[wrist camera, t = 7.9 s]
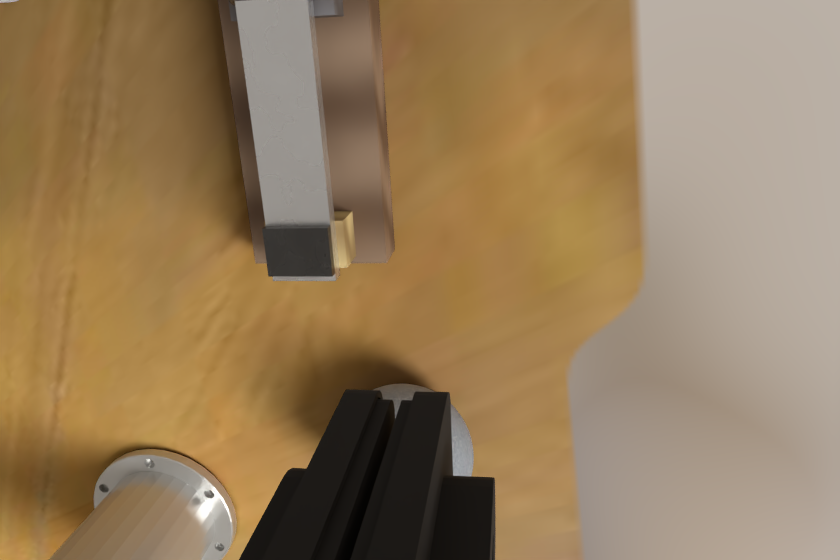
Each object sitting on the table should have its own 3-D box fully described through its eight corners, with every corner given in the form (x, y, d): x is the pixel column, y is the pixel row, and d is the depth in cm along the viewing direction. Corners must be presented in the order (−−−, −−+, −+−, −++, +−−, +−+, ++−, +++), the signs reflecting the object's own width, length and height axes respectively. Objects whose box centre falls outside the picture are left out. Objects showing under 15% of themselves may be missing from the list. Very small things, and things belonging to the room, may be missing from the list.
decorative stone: (364, 476, 51) (330, 571, 42) (335, 366, 48) (292, 442, 39) (486, 466, 49) (480, 564, 40) (465, 351, 46) (452, 428, 37)
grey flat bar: (345, 273, 40) (338, 284, 38) (275, 273, 41) (265, 284, 39) (316, -32, 34) (306, -36, 32) (235, -26, 35) (220, -29, 33)
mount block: (394, 249, 44) (379, 275, 39) (271, 250, 46) (241, 275, 41) (375, -56, 38) (353, -72, 33) (232, -45, 39) (190, -58, 34)
